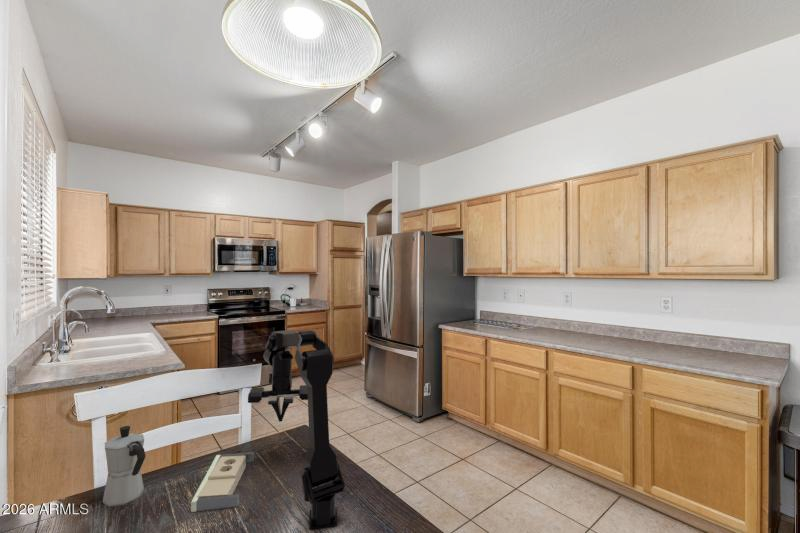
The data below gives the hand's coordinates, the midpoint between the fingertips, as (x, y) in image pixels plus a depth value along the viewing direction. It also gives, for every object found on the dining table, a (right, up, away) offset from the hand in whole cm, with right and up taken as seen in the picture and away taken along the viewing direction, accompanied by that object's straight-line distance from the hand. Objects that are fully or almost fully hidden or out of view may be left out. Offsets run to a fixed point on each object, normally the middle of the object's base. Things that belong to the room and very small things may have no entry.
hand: (280, 421), depth 114 cm
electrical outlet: (-12, -13, -13) cm, 22 cm away
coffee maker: (-34, -12, -19) cm, 41 cm away
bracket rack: (-11, -12, -12) cm, 20 cm away
